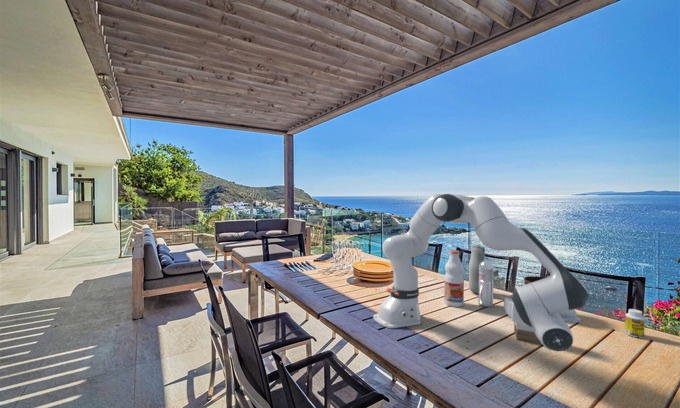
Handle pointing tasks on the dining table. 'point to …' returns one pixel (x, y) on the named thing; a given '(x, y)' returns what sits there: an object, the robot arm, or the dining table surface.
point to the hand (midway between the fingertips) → (533, 301)
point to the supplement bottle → (634, 323)
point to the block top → (523, 327)
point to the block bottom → (526, 336)
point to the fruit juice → (454, 281)
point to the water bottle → (486, 283)
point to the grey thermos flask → (475, 267)
